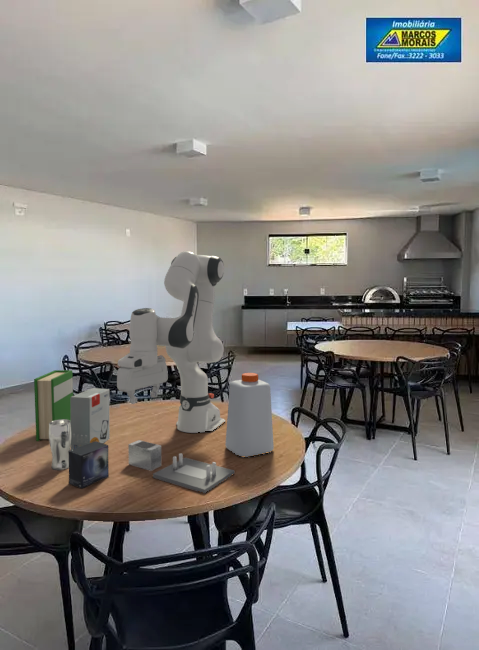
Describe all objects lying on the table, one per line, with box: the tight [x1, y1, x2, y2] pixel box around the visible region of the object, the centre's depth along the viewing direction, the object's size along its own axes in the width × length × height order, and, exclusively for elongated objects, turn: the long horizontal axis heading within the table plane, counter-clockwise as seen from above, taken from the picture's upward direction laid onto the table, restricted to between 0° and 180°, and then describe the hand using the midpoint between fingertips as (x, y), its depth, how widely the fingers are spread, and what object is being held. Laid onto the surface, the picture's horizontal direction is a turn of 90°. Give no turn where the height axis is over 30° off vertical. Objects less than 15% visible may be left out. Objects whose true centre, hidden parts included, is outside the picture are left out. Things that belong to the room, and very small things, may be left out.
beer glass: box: [48, 419, 72, 471], centre depth 149 cm, size 7×7×15 cm
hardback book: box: [33, 369, 74, 442], centre depth 182 cm, size 18×7×24 cm, turn 178°
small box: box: [68, 441, 110, 489], centre depth 139 cm, size 11×6×10 cm, turn 148°
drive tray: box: [152, 453, 236, 494], centre depth 143 cm, size 16×20×5 cm
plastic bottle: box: [225, 372, 274, 458], centre depth 165 cm, size 15×15×28 cm
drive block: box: [127, 439, 162, 472], centre depth 152 cm, size 5×10×7 cm, turn 58°
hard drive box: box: [70, 387, 111, 450], centre depth 169 cm, size 16×8×20 cm, turn 168°
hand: (144, 400), depth 150 cm, fingers open, 8 cm apart
